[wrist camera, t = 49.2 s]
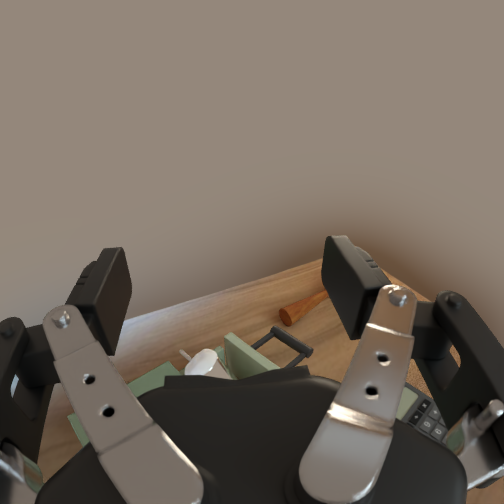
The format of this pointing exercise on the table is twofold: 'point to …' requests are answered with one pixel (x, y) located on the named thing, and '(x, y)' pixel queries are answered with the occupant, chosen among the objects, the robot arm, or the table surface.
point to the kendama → (300, 308)
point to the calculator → (422, 414)
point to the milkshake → (207, 365)
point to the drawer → (256, 353)
